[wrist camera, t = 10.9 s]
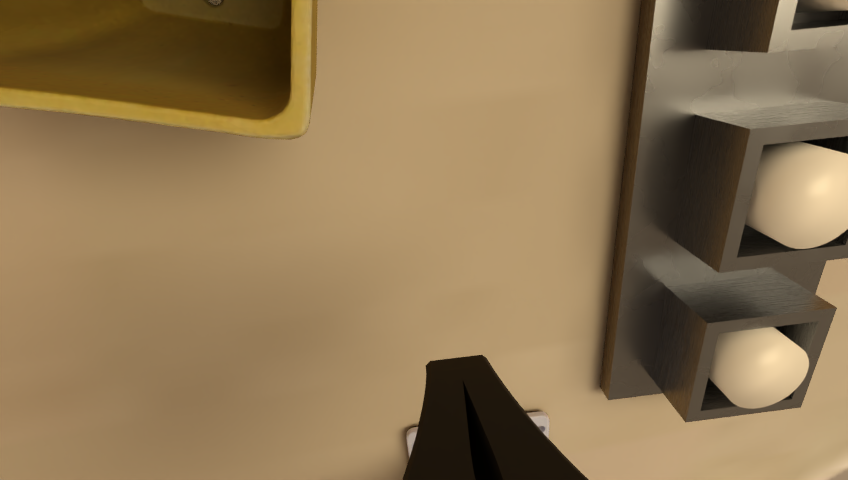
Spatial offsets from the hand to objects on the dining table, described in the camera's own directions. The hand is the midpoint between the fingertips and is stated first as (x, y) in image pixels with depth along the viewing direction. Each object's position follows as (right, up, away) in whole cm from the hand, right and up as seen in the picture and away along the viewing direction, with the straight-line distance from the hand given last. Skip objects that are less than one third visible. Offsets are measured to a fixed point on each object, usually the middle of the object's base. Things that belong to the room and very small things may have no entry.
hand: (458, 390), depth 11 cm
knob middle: (+13, +6, +9) cm, 17 cm away
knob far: (+14, -1, +12) cm, 18 cm away
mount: (+13, +7, +10) cm, 17 cm away
